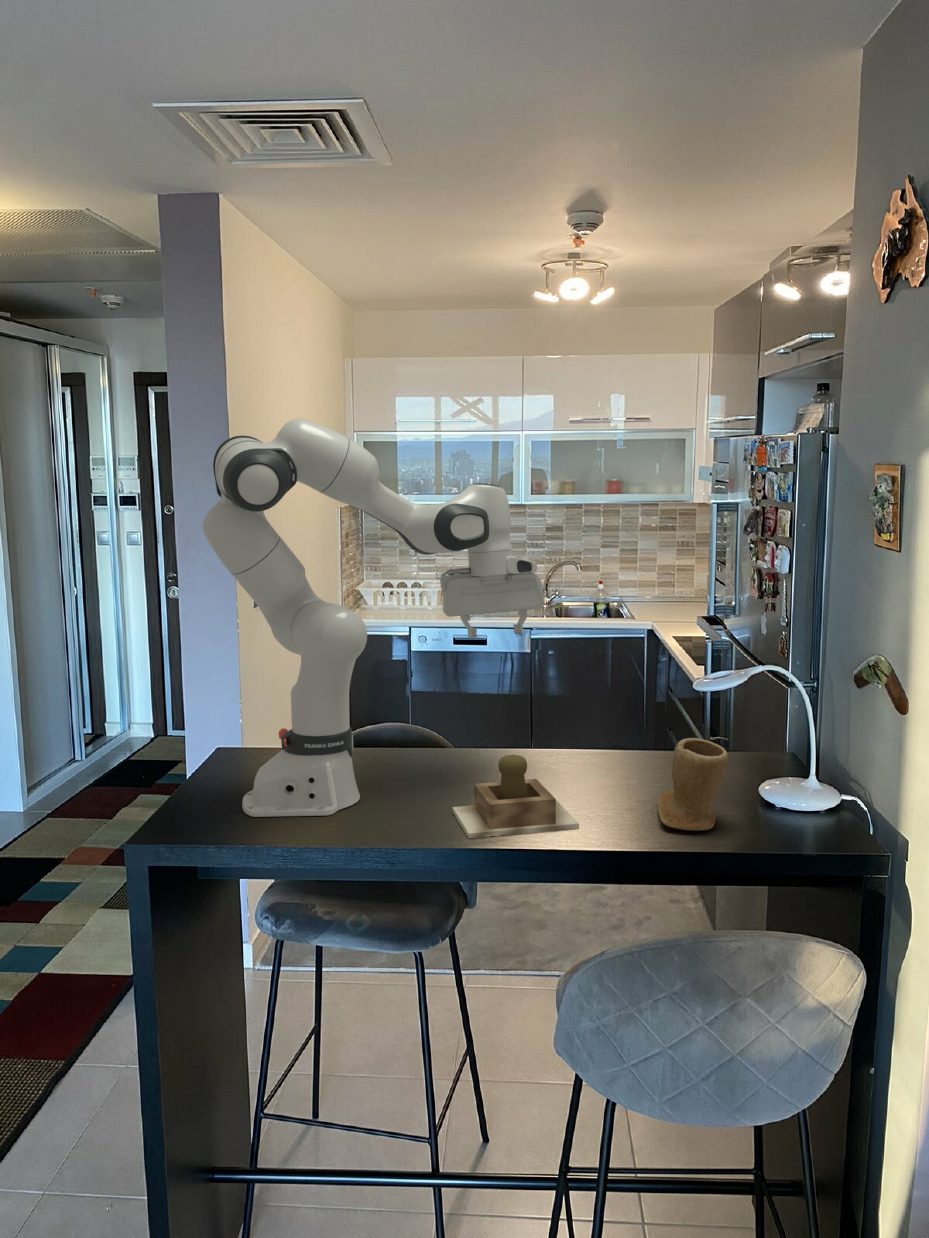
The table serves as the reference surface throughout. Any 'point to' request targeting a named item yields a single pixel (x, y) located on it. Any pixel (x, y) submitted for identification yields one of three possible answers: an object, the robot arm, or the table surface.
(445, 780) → the table surface
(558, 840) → the table surface
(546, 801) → the cruet stand
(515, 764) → the cork
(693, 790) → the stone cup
